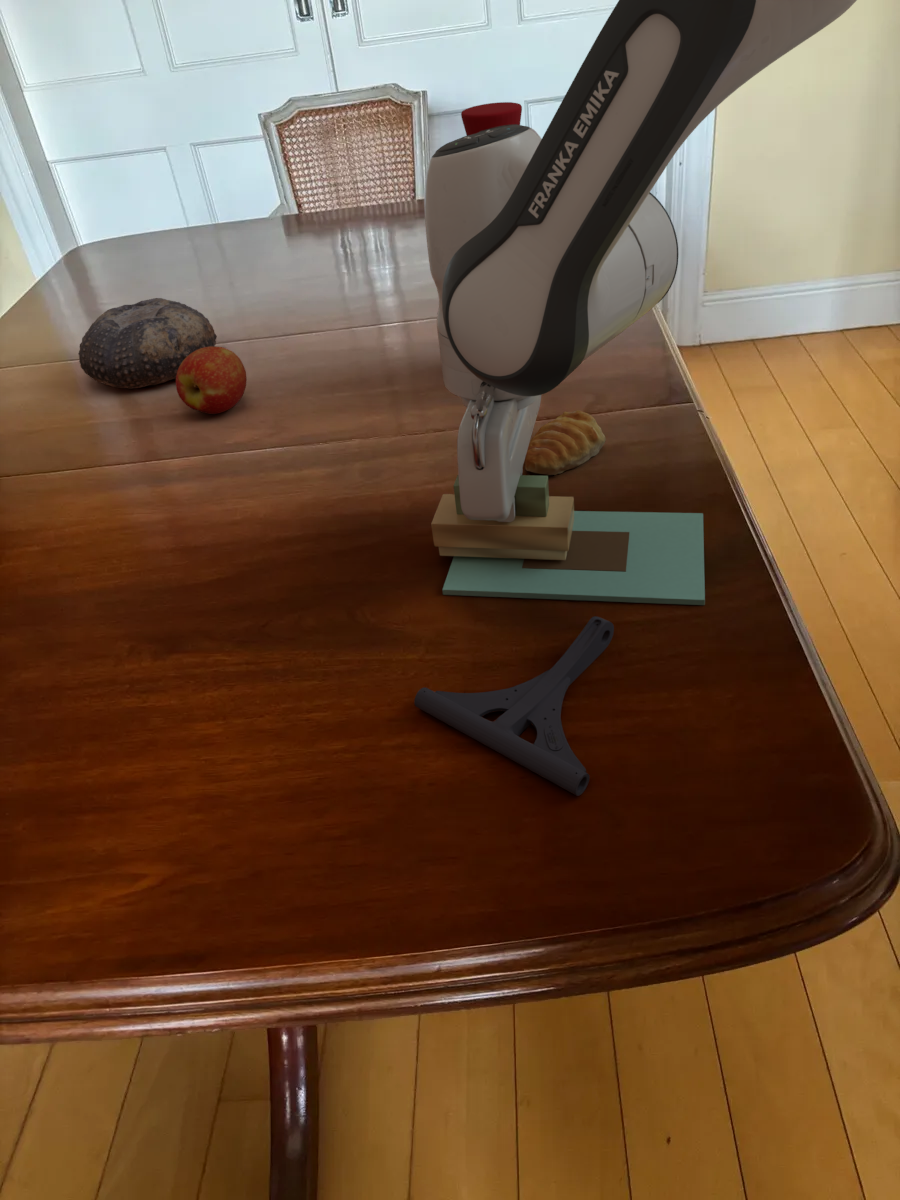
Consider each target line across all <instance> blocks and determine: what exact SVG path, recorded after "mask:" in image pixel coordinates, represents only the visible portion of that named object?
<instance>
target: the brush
mask: <svg viewBox="0 0 900 1200" xmlns="http://www.w3.org/2000/svg"><path fill="white" fill-rule="evenodd" d="M549 490H550V487H549V475H535V474H534V475H530V474H527V475H526V474H522V475H520V478H519V482H518V485H517V489H516V492H515V496H516V506H517V511H516V516H515V519H514V521H512V522H498V521H486V520H470V519H467V518H466V517H465V515H464V514H463V512H462V509H461V502H460V490H459V476H458V474H457V475H456V478H455V481H454V482H453V493H443V494H442V495H441V498H440V501H439V503H438V506H437V508H436V511H435V512H434V516H433V518H432V520H431V524H430V526H431V533H432V540H433V547H435V548H436V547H437V548H438V553H439V554H438V555H439V556H440V557H454V556H463V557H490V558H516V559H543V560H566V556H567V551H569V546H570V540H571V535H572V529H573V524H574V511H575V497H574V496H559V495H558V496H554V495H553V496H552V495H550V491H549Z"/></svg>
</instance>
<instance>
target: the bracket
mask: <svg viewBox="0 0 900 1200" xmlns="http://www.w3.org/2000/svg"><path fill="white" fill-rule="evenodd" d="M614 632H615V626H614V624H613V622H611V621H610V620H607V619H605V618H602V617H600V616H591V617H590V619H589V620H588V622H587V623H586V624H585V626H584V627H583V629H582V630H581V631H580V633H578V636H577V637H576V638H575V639H574V640H573V642H572V643H571V644H570V645H569V647H568V648H567V650H566V651H565V652H564V653H563V655H562V656H561V657H560V658H559V659H558V660H557V661H556V663H555V664H554V665H553V666H552V667H551V668H550V669H547V670H545V671H544V672H543V673H541V674H539V675H536V676H534V677H533V678H531V679H529V680H526V681H525V682H524V681H523V682H522V683H519V684H516V685H514V686H512V687H508V688H502V689H496V690H491V691H483V692H452V691H444V690H435V691H434V690H432V689H430V688H428V687H421V688H420V689H419V690H418V691H417V693H416V694H415V697H414V700H413V701H414V702H413V703H414V706H415V707H416V708H418V709H420V710H421V711H423V712H425V713H426V714H428V715H431V716H432V717H434V718H436V719H437V720H439V721H441V722H443V723H445V724H446V725H448V726H450V727H451V728H454V729H455V730H457V731H459V732H460V733H463V734H464V735H466V736H468V737H470V738H472V739H474V741H475V740H476V741H477V742H479V743H481V744H483V745H484V746H486V747H488V748H489V749H491V750H493V751H495V752H496V753H498V754H501V755H502V756H504V757H506V758H508V759H509V760H511V761H512V762H513V761H514V762H515V763H517V764H519V765H520V766H522V767H524V768H526V769H528V770H530V771H531V772H533V773H535V774H536V775H538V776H540V777H542V778H544V779H546V780H548V781H549V782H551V783H553V784H554V785H556V786H558V787H560V788H562V789H563V790H565V791H568V792H569V793H570V794H573V795H575V796H577V797H579V796H581V795H582V794H583V793H584V792H585V791H586V789H587V787H588V785H589V782H590V779H591V778H590V777H591V776H590V774H589V773H588V772H587V769H586V767H585V766H584V765H583V763H582V762H581V761H580V759H579V758H578V757H577V756H576V754H575V753H574V751H573V750H572V748H571V746H570V744H569V741H568V740H567V738H566V734H565V732H564V728H563V723H562V717H561V714H562V709H563V708H562V707H563V702H564V699H565V695H566V693H567V691H568V688H569V686H570V685H572V683H574V682H575V681H576V680H577V679H578V677H580V676H581V674H583V672H584V671H585V670H587V669H588V668H589V667H590V666H591V664H592V663H594V662H595V660H597V659H598V657H600V656H601V655H602V654H603V652H605V650H606V649H607V648H608V647H609V645H610V643H611V641H612V639H613V637H614ZM494 712H495V713H496V712H504V713H502V714H501V715H499V716H498V717H497V718H496V719H495V720H494V721H491V720H489V719H487V718H485V717H483V716H485V715H488V714H490V713H494ZM531 725H532V726H533V728H534V729H535V731H536V738H535V741H534V742H533V743H531V742H530V741H528V740H526V739H524V738H522V737H521V736H520V735H521V734H522V733H523V732H524V731H526V729H528V728H529V727H530V726H531Z"/></svg>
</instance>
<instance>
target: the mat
mask: <svg viewBox="0 0 900 1200" xmlns="http://www.w3.org/2000/svg"><path fill="white" fill-rule="evenodd" d="M704 536H705V533H704V513H703V512H660V511H659V512H653V511H604V510H603V511H601V510H600V511H598V510H595V511H593V510H592V511H591V510H574V524H573V529H572V535H571V540H570V546H569V551H567V556H566V560H543V559H516V558H490V557H463V556H452V557H453V558H452V561H451V563H450V566H449V569H448V572H447V575H446V578H445V580H444V583H443V587H442V589H441V590H442V595H443V596H464V597H491V598H515V599H536V600H537V599H538V600H539V599H540V600H562V601H588V602H591V601H592V602H609V603H610V602H613V603H633V604H634V603H639V604H659V605H661V604H663V605H664V604H665V605H686V606H705V605H706V589H705V587H706V586H705V585H706V584H705V583H706V582H705V581H706V579H705V542H704V541H705V539H704V538H705V537H704Z"/></svg>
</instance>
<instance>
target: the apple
mask: <svg viewBox="0 0 900 1200" xmlns="http://www.w3.org/2000/svg"><path fill="white" fill-rule="evenodd" d="M247 380H248V379H247V371H246V368H245V365H244V364H243V362H242V360H241V358H240V357H239V355H237V354H236V352H234V351H232V350H230V349H228V348H225V347H222V346H214V347H212V346H211V347H204V348H200V349H198V350H196V351H194V352H192V353H191V354H190V355H188V356H187V357H186V358H185V359H184V360H183V362H182V363H181V365H180V366H179V368H178V371H177V375H176V379H175V387H176V392H177V394H178V397H179V399H180V400H181V401H182V403H183V404H185V406H187V407H188V408H190V409H192V410H194V411H197V412H200V413H203V414H207V415H208V414H209V415H215V414H221V413H224V412H227V411H229V410H230V409H232V408H233V407H234V406H236V405H237V404H238V403H239V402H240V401H241V399H242V397H243V395H244V393H245V391H246V388H247V382H248V381H247Z"/></svg>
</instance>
